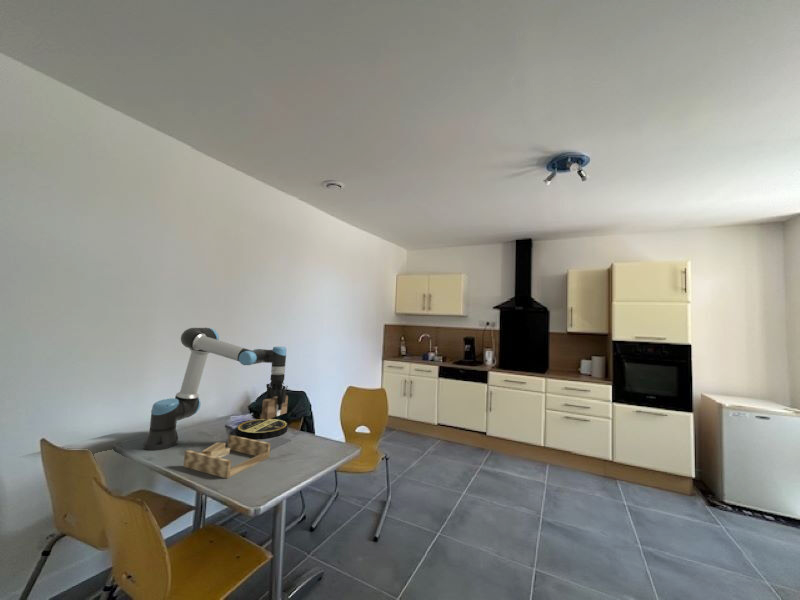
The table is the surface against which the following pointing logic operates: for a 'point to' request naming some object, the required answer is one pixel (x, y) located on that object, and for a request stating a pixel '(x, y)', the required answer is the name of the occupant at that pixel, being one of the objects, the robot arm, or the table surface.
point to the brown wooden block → (272, 407)
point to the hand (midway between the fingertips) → (274, 415)
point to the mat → (277, 442)
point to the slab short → (214, 449)
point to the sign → (262, 429)
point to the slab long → (223, 452)
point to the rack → (223, 465)
